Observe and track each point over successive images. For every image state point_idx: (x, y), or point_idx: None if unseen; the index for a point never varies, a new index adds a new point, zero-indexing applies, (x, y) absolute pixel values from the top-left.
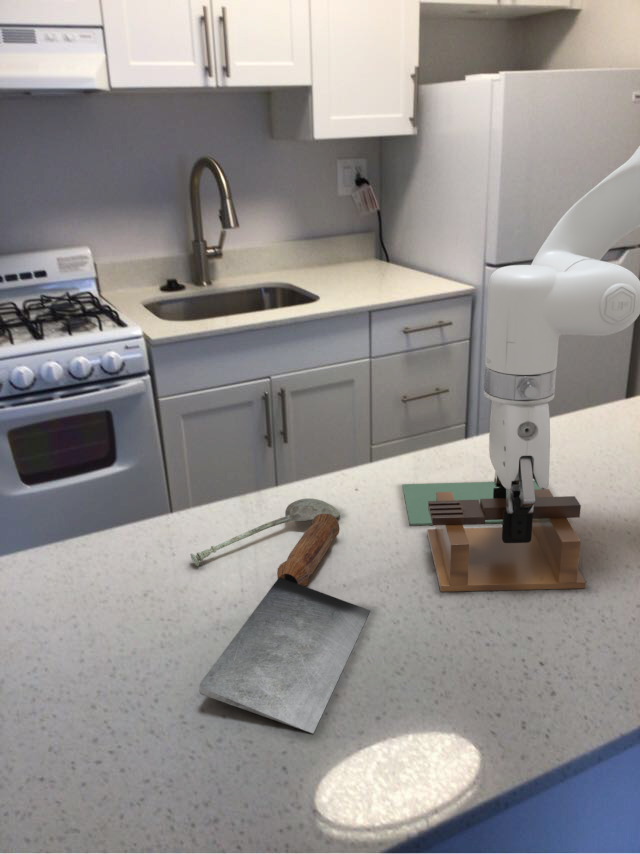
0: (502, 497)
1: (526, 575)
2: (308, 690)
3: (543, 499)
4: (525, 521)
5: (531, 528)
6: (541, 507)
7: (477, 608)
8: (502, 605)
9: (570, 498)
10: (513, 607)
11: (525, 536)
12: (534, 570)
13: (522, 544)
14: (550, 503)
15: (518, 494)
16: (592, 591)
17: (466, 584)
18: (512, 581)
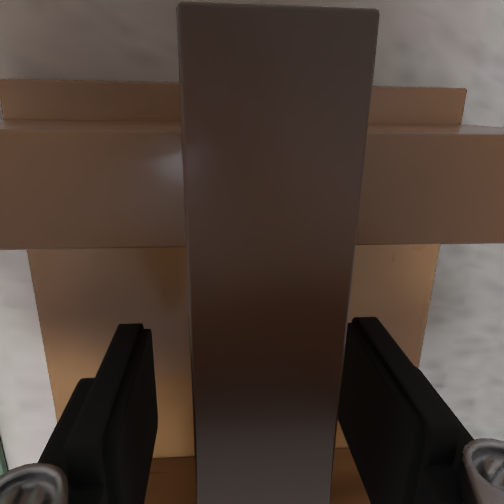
0: (135, 500)
1: (385, 284)
2: None
3: (238, 304)
4: (461, 431)
5: (402, 353)
6: (345, 334)
7: (474, 413)
8: (477, 357)
9: (231, 67)
10: (492, 332)
11: (415, 366)
12: (359, 252)
13: (175, 255)
14: (312, 269)
15: (123, 435)
16: (472, 67)
17: None
18: (410, 330)
